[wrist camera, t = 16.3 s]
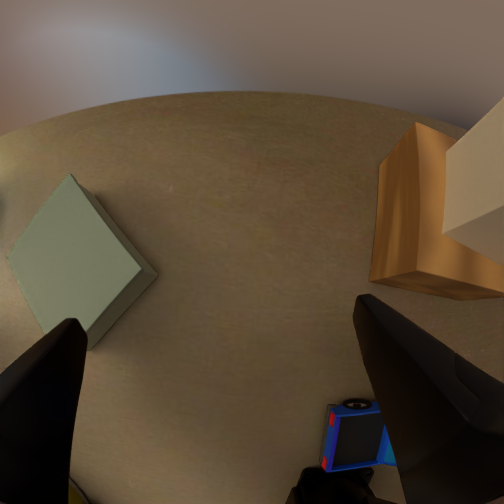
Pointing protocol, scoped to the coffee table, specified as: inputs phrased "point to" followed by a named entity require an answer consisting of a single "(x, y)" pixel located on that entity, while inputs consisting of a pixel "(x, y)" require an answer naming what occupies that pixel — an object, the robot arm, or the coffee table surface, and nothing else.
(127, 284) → the storage box
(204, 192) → the coffee table surface
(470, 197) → the white box
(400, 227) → the brown wooden block
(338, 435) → the toy car
